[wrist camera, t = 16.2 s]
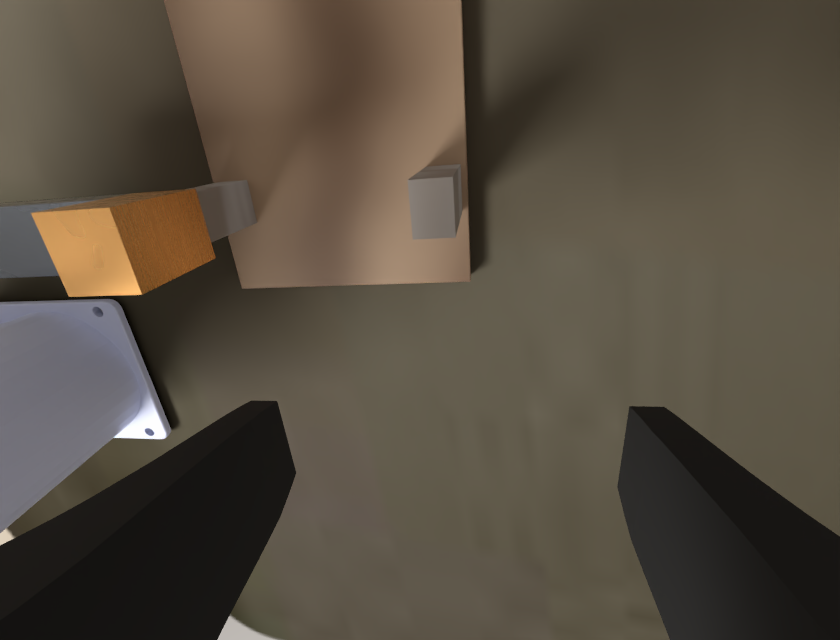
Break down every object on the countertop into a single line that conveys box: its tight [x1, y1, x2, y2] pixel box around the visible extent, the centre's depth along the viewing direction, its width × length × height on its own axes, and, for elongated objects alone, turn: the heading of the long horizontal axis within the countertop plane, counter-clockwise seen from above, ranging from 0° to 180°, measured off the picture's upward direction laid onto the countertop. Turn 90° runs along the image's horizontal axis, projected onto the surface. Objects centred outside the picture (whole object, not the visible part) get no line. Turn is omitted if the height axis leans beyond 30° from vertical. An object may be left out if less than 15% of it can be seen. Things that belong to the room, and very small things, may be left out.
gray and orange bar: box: [0, 189, 216, 297], centre depth 12 cm, size 10×2×3 cm, turn 95°
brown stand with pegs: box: [164, 0, 471, 289], centre depth 13 cm, size 10×11×5 cm
